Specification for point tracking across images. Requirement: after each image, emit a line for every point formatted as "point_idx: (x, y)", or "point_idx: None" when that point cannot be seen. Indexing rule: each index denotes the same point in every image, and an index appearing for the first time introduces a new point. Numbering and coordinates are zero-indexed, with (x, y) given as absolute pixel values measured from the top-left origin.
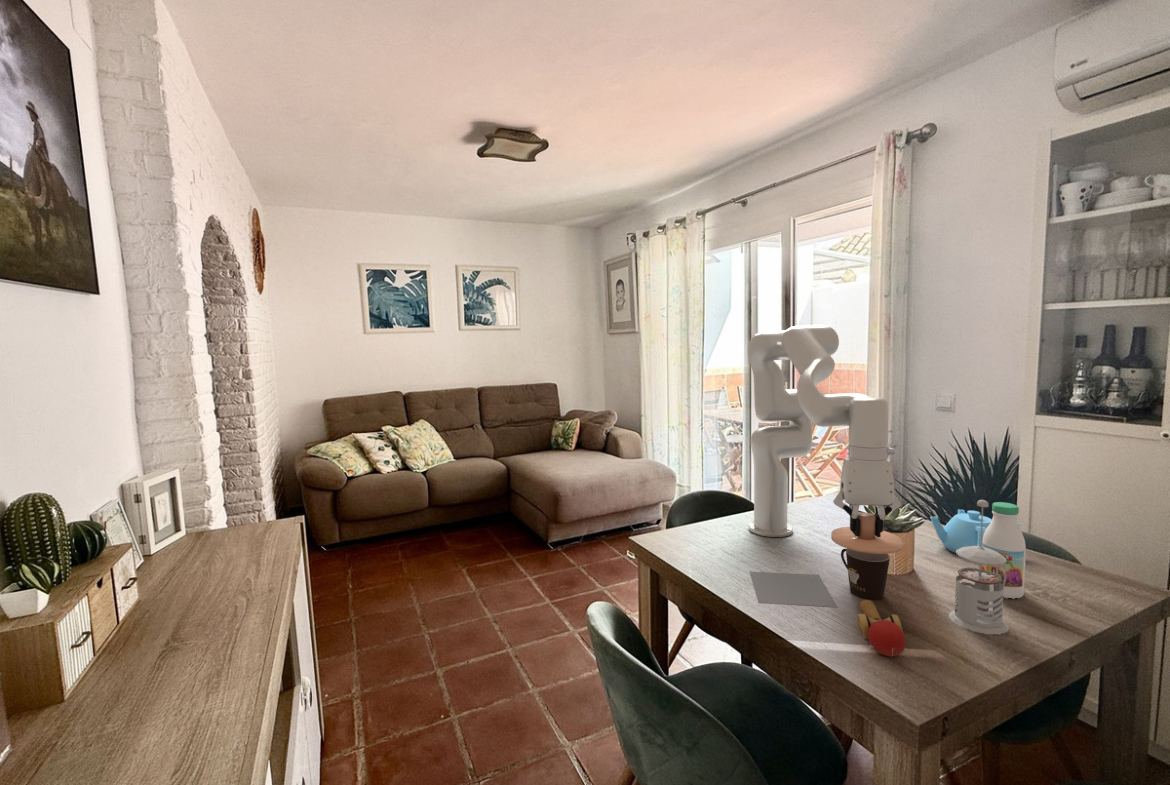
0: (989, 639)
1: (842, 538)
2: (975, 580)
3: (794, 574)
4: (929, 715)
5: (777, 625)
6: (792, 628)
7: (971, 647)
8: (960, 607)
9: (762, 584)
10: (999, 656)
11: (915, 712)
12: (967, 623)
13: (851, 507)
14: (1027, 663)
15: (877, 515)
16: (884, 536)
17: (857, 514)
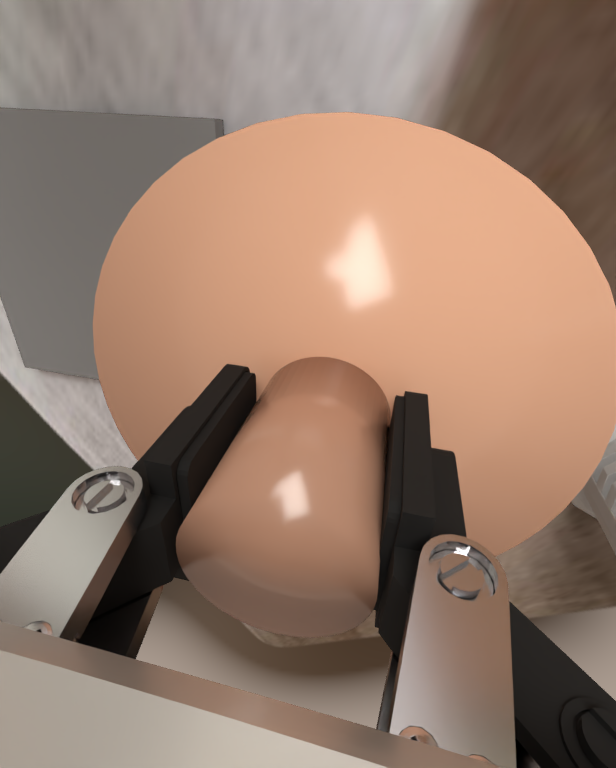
0: (583, 538)
1: (156, 424)
2: None
3: (109, 124)
4: (290, 646)
5: (89, 441)
6: (120, 454)
7: (498, 555)
8: (598, 508)
9: (8, 243)
10: (535, 584)
11: (274, 640)
12: (583, 497)
13: (54, 576)
14: (576, 608)
15: (385, 637)
16: (488, 411)
17: (149, 614)
